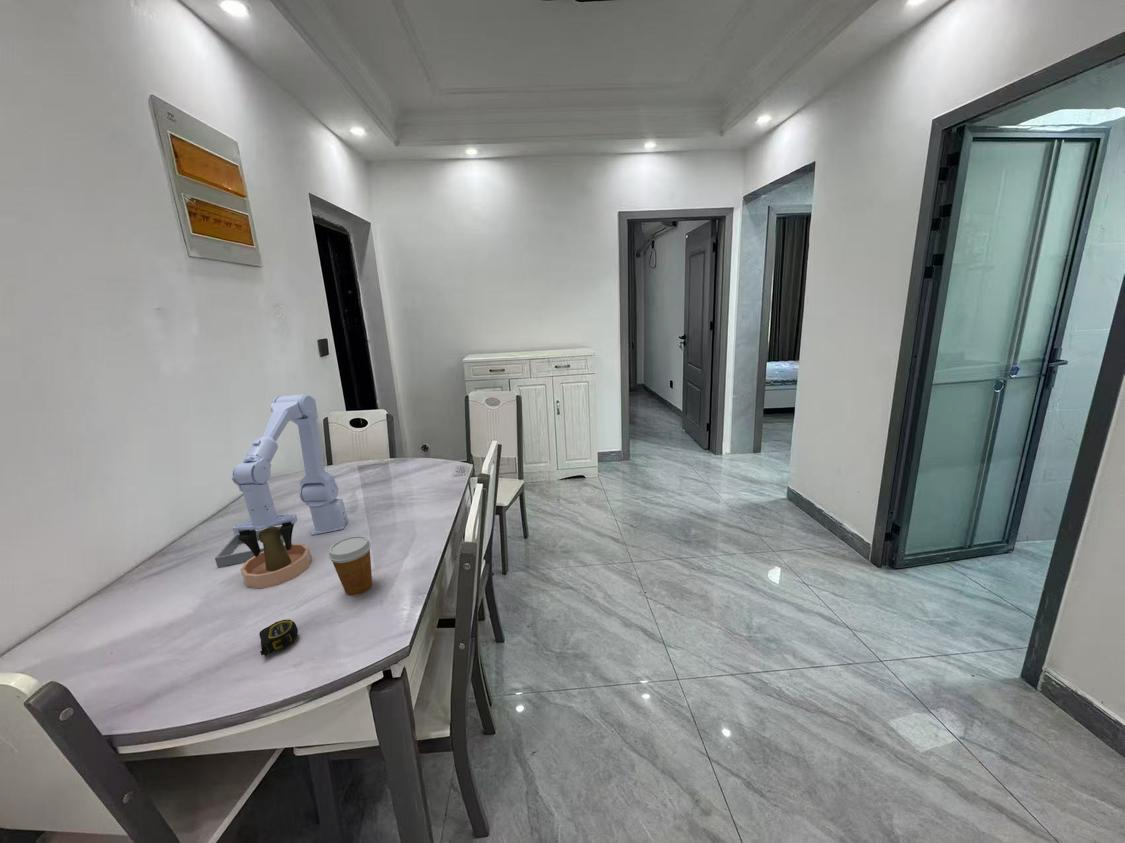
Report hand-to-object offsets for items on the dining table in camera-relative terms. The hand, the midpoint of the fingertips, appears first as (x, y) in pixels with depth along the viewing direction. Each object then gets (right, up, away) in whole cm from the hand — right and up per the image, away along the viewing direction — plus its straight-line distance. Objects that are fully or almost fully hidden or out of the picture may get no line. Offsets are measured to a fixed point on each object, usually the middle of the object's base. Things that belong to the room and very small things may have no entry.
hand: (273, 551), depth 123 cm
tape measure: (+18, -12, -27) cm, 35 cm away
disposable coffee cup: (+27, -6, -10) cm, 30 cm away
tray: (-14, -3, +14) cm, 20 cm away
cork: (0, -5, +3) cm, 5 cm away
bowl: (0, -5, +1) cm, 6 cm away
